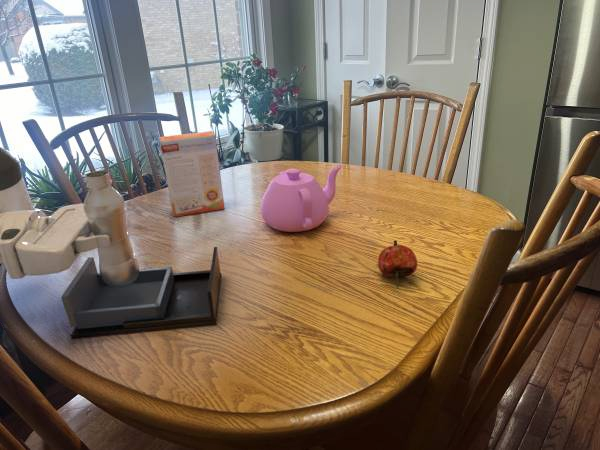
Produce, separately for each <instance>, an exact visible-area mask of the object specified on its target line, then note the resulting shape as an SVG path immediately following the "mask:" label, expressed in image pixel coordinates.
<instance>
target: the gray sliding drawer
mask: <svg viewBox="0 0 600 450" xmlns="http://www.w3.org/2000/svg"><path fill="white" fill-rule="evenodd" d="M173 273H174V271H173V267H172V266H167V267H153V268H143V269H142V268H141V269H139V275H138V277H137V279H136V280H135V281H134V282H132V283H130V284H128V285H125V286H120V287H113V286H109V285H108V284H106V283H105V282H104V281H103V279H102V277H101V275H100V272H98V269H97V265H96V261H95V258H94V256H93V257H91V256H90V257H87V258H86V260H85V261H84V262H83V265H81V267H80V269H79V270H78V272H77V273H76V274H75V276H74V278H72V280H71V282H70V283H69V284H68V286H67V288H66V289H65V290H64V292H63V294H62V295H61V296H60V298H61V301H62V304H63V308H64V310H65V313H66V317H67V320H68V323H69V326H70V328H72V327H74V328H75V327H76V326H77V328H78V329H84V328H94V327H105V326H115V325H123V323H124V322H127V321H137V320H148V319H159V318H164V314H165V311H166V308H167V304H168V301H169V297H170V294H171V290H172V287H173V283H174V275H173ZM99 286H100V287H99ZM96 291H97V292H96ZM95 293H96V294H95ZM92 298H93V299H92ZM91 300H92V301H91ZM90 302H91V303H90ZM88 305H89V306H88ZM87 307H88V308H87ZM86 309H87V310H86Z"/></svg>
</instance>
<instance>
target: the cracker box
mask: <svg viewBox="0 0 600 450" xmlns="http://www.w3.org/2000/svg"><path fill="white" fill-rule="evenodd" d="M216 138H217V137H216V134H215V133H214V131H213V130H209V131H202V132H201V131H200V132H193V133H192V132H191V133H183V134H174V135H166V136H159V145H160V150H161V155H162V161H163V167H164V172H165V173H164V174H165V178H166V179H165V180H166V183H167V191H168V193H169V194H168V195H169V201H170V205H171V211H172V215H173V218H176V217H182V216H189V215H194V214H195V215H196V214H201V213H207V212H213V211H220V210H224V209H225V199H224V192H223V191H224V190H223V185H222V177H221V170H220V169H221V168H220V161H219V156H218V155H219V154H218V146H217V139H216Z"/></svg>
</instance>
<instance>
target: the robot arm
mask: <svg viewBox="0 0 600 450" xmlns="http://www.w3.org/2000/svg"><path fill="white" fill-rule="evenodd" d="M83 208H84V202H83V203H77V204H76V203H75V204H74V203H73V204H69V205H64V206H61V207H59V208H57V210H55V211H54V212H52V214H50V215H49V216H47V214H46V213H45V212H44V211H42V210H40V209H34V206H33V202H32V199H31V196H30V194H29V191H28V188H27V184H26V181H25V179H24V176H23V170H22V166H21V161H20V158H19V156H18V155H16V154H15V153H13V152H11V151H10V150H8V149H6V148H3V147H1V146H0V264H1V265H4V268H5V270H6V272H7V274H8V276H9V278H10V279H11V280H14V279H15V280H18V279H23V278H25V277H26V276H29V277H32V276H33V277H34V276H35V277H36V276H44V275H52V274H53V275H54V274H59V273H62V272H64V271H67V270H68V269H70V268H71V267H72V265H73V264H74V263H75V261H76V260H77V259H78V257H79V256H80V254H82V253H86V252H89V251H93V250H95V249H97V248H98V247H104V246H109V245H110V243H111V241H112V238H111V234H110V233H99V234H98V235H96V236H94V234H93V231H92V228H91V226H90V224H89V221H88V219H87V217H86V214H85V212H84V209H83Z"/></svg>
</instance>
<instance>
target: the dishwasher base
mask: <svg viewBox="0 0 600 450" xmlns="http://www.w3.org/2000/svg"><path fill="white" fill-rule="evenodd" d="M211 258H212V259H211V265H210V269H205V270H195V271H184V272H173V275H174V283H173V287H172V290H171V294H170V297H169V301H168V304H167V308H166V311H165V314H164V318H159V319H148V320H137V321H127V322H124V323H123V325H115V326H105V327H94V328H84V329H78V328H77V326H74V329H73V330H72V332H71V334H70V338H71V340H75V339H76V340H77V339H85V338H97V337H105V336H107V337H108V336H116V335H117V336H118V335H128V334H138V333H146V332H158V331H168V330H179V329H188V328H199V327H210V326H217V325H218V316H219V308H220V307H219V306H220V296H221V286H222V272H221V266H220V260H219V259H220V258H219V251H218V246H214V247H213V251H212V257H211ZM99 287H100V286H99ZM96 292H97V291H96ZM95 294H96V293H95ZM92 299H93V298H92ZM91 301H92V300H91ZM90 303H91V302H90ZM88 306H89V305H88ZM87 308H88V307H87ZM86 310H87V309H86Z"/></svg>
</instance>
